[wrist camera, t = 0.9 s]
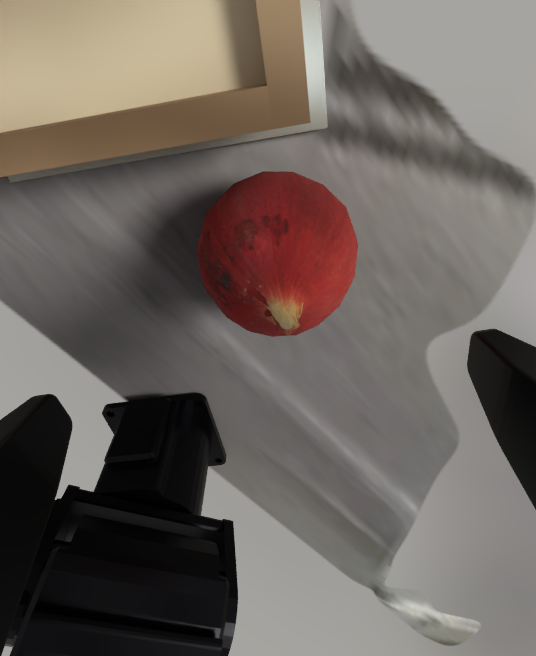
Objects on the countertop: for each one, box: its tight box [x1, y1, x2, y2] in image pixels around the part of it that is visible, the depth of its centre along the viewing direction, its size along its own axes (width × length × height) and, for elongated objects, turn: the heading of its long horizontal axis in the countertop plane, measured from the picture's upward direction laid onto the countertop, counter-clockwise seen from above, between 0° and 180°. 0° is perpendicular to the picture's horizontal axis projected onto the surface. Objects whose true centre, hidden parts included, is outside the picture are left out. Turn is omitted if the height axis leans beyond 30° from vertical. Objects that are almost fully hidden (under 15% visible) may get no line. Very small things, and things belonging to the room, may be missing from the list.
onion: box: [197, 172, 358, 336], centre depth 14 cm, size 6×6×8 cm
